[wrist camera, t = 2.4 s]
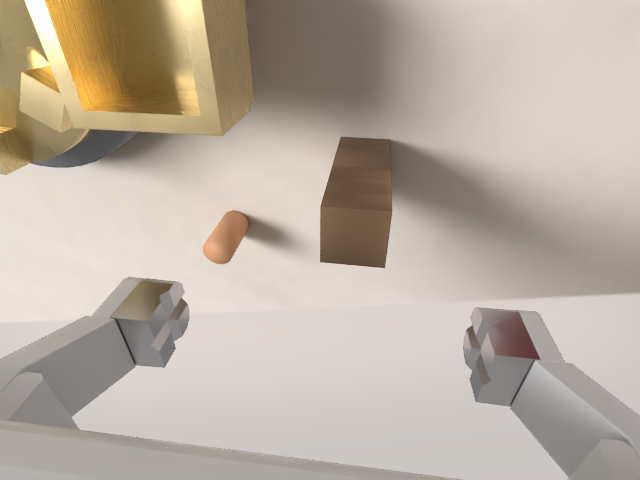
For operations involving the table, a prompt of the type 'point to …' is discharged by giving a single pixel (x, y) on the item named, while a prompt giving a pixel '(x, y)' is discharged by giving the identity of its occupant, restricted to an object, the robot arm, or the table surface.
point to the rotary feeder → (118, 71)
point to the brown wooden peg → (357, 204)
